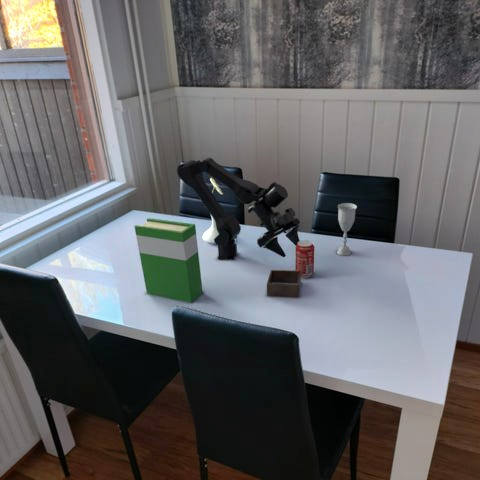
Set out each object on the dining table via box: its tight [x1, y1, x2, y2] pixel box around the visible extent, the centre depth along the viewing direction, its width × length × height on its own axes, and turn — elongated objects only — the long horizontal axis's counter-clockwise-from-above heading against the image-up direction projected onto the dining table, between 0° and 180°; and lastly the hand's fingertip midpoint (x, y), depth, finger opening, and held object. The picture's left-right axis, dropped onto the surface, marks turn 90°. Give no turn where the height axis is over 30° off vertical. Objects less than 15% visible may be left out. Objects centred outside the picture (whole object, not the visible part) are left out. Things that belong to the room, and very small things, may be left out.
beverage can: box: [294, 239, 315, 279], centre depth 160 cm, size 6×6×12 cm
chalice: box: [337, 202, 358, 256], centre depth 172 cm, size 7×7×18 cm
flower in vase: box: [201, 177, 224, 244], centre depth 188 cm, size 13×11×25 cm
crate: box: [266, 269, 302, 298], centre depth 154 cm, size 10×10×4 cm
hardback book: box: [134, 217, 204, 304], centre depth 151 cm, size 18×7×24 cm, turn 64°
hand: (292, 252), depth 162 cm, fingers open, 9 cm apart
